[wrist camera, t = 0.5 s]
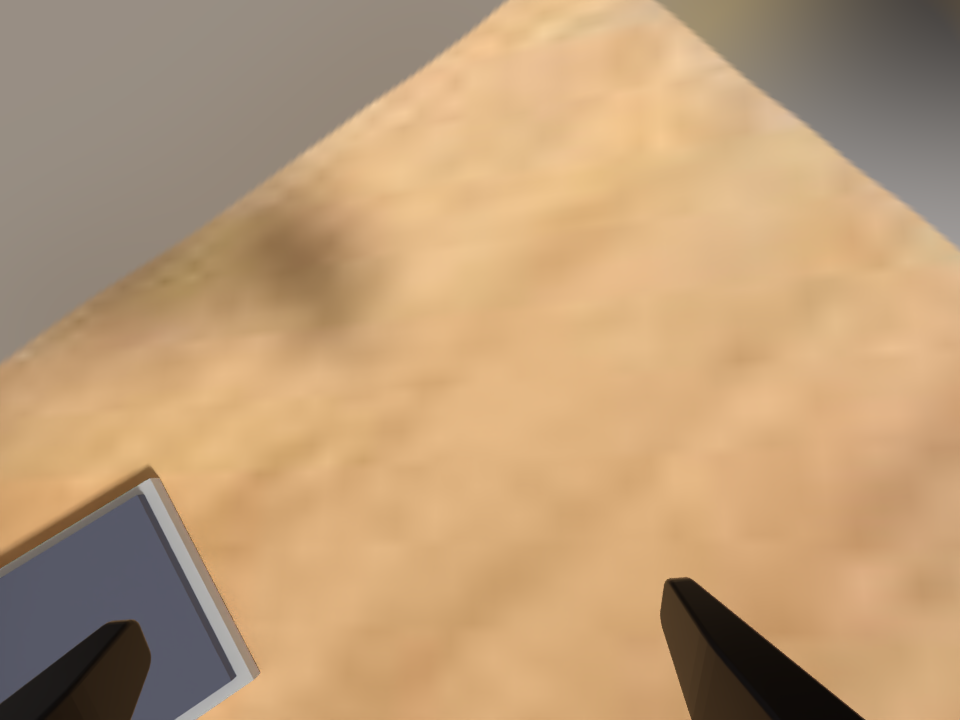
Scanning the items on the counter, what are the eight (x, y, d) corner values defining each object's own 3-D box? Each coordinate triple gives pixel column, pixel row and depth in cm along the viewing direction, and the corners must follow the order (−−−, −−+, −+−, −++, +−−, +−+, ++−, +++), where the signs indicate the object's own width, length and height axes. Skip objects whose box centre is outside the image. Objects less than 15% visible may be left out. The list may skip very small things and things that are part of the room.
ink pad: (260, 673, 22) (248, 685, 20) (42, 822, 20) (16, 844, 19) (159, 477, 23) (143, 478, 22) (-50, 604, 22) (-79, 612, 21)
